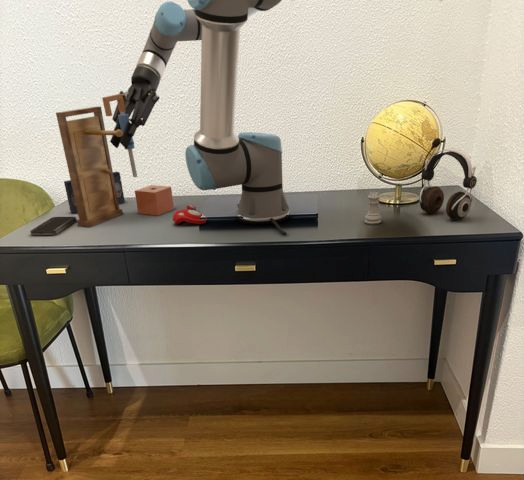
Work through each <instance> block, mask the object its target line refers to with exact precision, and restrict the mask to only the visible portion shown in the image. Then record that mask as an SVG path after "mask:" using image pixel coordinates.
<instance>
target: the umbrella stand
mask: <svg viewBox="0 0 524 480" xmlns="http://www.w3.org/2000/svg"><path fill="white" fill-rule="evenodd" d="M134 195H135V202H136V208H137V213H138V214H142V215H149V216H161V215H163V214H166V213H168V212H171V211H173V210H175V205H174V198H173V189H172V186H167V185H157V184H155V185H154V184H150V185H146V186H144V187H141V188H138V189H135V190H134Z"/></svg>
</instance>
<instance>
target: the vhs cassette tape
mask: <svg viewBox="0 0 524 480" xmlns="http://www.w3.org/2000/svg"><path fill="white" fill-rule="evenodd" d="M113 176H114V182H115V187H116V193H117V198H118V204H119V205H121V204H124V203H126V200H125V194H124V189H123V183H122V178H121V172H120V171H113ZM63 183H64V188H65V192H66V197H67V203H68V206H69V211H70V213H71V214H78V211H77V207H76V202H75V198H74V193H73V189H72V184H71V179H69V180H64V181H63Z"/></svg>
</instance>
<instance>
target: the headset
mask: <svg viewBox="0 0 524 480" xmlns="http://www.w3.org/2000/svg"><path fill="white" fill-rule="evenodd" d="M441 142H442V140H441V138H439V137H436V138H434V139H433V140H432V143H431V147H430V149H429V151H428V153H427V154H426V156H425V158H424V160H423V163H422V167H421V176H420V177H421V190H420V192H419V207H420V209H421V210H422V211H424V212H425V213H426V214H427V215H428V214H429V215H432V214H435V213H437V212H439V211H440V209H441V208H442V207H443V204H444V200H445V194H444V191H443V190H442V189H441V188H440V187H439V186H432V185H431V184H430V181H432V180H433V179H434V177H435V170H434V169H435V167H436V164H437V163H438V161H439V160H440V159H441V158H442V157H444V156H446V155H447V156H450V157H452V158H453V159H455V160H456V161H457V162H458V164H460V166H461V168H462V170H463V174H464V177H463V180H462V187H463V188H465V189H466V191H465V192H464V191H462V190H461V191H457V192H454V193H453V194H451V195H450V197H449V198H448V200H447V201H446V206H445V212H446V215H447V217H449V219H450V220H453V221H455V220H462V219H464V218H465V217H467V215H468V214H469V212H470V210H471V206H472V204H473V203H472V202H473V200H474V196H473V194H472V191H473V189H474V188H475V187H476V185H477V181H478V180H477V179H478V178H477V176H475V171H476V169H477V167H476V166H473V164H472V162H471V159H470V158H469V157H468V156H467V155H466V154H465V153H464V152H462V151H460V150H456V149H442V150H438V151H436V152H434V153H433V154H432V155H431V157H430V158H429V159H428V157H429V155H430V154H431V151H432V150H434V149H436V148H438V147H439V146H440V145H441ZM426 181H427V182H426ZM426 183H427V185H428V187H427V188H426ZM425 188H426V189H425ZM468 192H469V194H468Z"/></svg>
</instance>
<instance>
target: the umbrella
mask: <svg viewBox="0 0 524 480" xmlns="http://www.w3.org/2000/svg"><path fill="white" fill-rule="evenodd" d="M101 100H102V104H103V109H104V112H105V117H113V113H112V112H113V111H112V107H111V102H114V101H116V102H117V103H118V108H119V112H120V113H121V115H118V118H119V123H120V128H121V130H122V132H124V130H125V127H126V125H127V123H128V122H130V123H131V121H130V120H129V119H130V117H129V116H128V114H125V111H126V110H125V105H124V100H123V96H122V94H119V93H116V94H111V95H108V96H103V97H101ZM117 103H116V104H117ZM133 149H135V141H134V136H133V137H132V138H131V141H130V143H129V145H128V148H125V147H124V150H127V152H128V158H129V164H130V168H131V172H132V177H133V178H137V177H138V172H137V167H136V163H135V157H134V152H133Z"/></svg>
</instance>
